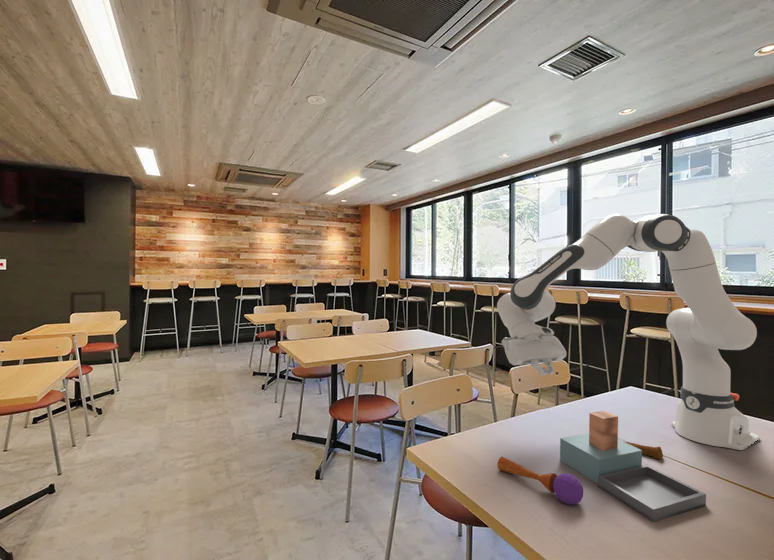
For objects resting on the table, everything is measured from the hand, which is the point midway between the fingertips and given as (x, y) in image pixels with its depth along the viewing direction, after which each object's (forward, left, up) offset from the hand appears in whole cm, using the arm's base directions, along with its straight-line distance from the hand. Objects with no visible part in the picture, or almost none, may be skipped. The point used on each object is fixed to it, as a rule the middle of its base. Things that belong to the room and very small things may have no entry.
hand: (548, 373), depth 113 cm
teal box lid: (0, +18, -19) cm, 27 cm away
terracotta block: (0, +19, -13) cm, 23 cm away
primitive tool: (-15, +12, -20) cm, 28 cm away
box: (0, +31, -19) cm, 37 cm away
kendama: (+21, +20, -20) cm, 35 cm away
